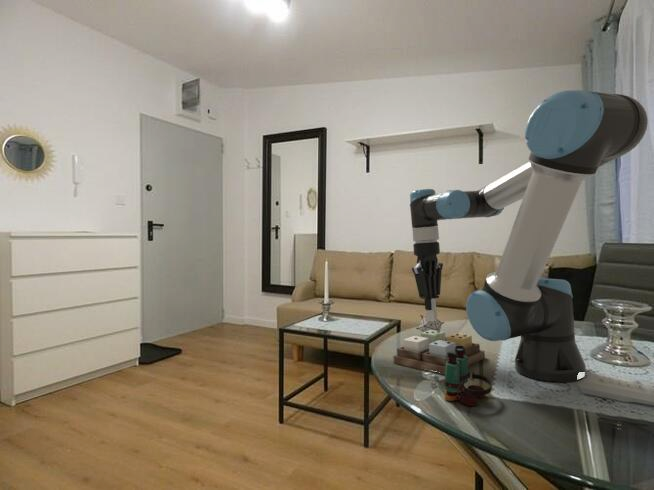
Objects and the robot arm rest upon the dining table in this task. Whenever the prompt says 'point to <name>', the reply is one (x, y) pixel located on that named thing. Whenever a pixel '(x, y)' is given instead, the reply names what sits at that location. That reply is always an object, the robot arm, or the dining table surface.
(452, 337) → the button four
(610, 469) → the dining table surface
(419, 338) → the button one
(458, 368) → the binoculars
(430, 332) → the button three
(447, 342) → the button two
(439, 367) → the wooden compartment tray
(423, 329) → the game die
